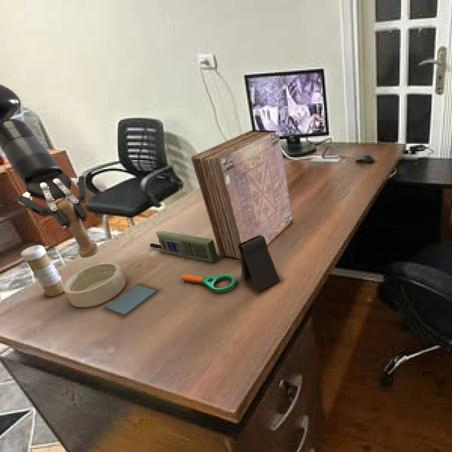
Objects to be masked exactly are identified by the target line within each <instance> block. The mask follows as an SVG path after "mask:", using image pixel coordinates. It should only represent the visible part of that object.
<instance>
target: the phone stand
mask: <svg viewBox="0 0 452 452" xmlns="http://www.w3.org/2000/svg"><path fill="white" fill-rule="evenodd" d="M260 236H261V234H260V235H258V236H256V237H253V238H251V239H249V240H247V241H245V242H243V243H240V244H238V248H239V251H240V258H241V259H240V269H241V270H240V271H241V277H242V279H243V280H245V282H247V283H248V284H249V285H250V286H251V287H252V288H253V289H254V290H256V292H257V293H261V292H262V291H265V290H267V289H268V288H270V287H272V286H273V285H275V284H277V283H279V282H280V277H279V274H278V272H277V270H276V267H275V264H274V261H273V258H272V256H271V254H270V250H269V248H268V244H267V245H266V240H265V238H264V236H261V237H260Z"/></svg>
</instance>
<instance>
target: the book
mask: <svg viewBox="0 0 452 452" xmlns="http://www.w3.org/2000/svg"><path fill="white" fill-rule="evenodd" d="M190 159H191V162H192V166H193V169H194V173H195V176H196V179H197V183H198V186H199V189H200V193H201V196H202V199H203V202H204V207H205V209H206V213H207V215H208V219H209V223H210V226H211V228H212V232H213V236H214V239H215V243H216V246H217V250H218V252H219V256H220V258H224V257H225V256H226V257H230V258H235V259H238V260H241V258H240V251H239V248H238V244H240V243H243V242H245V241H247V240H249V239H251V238H253V237H256V236H258V235H260V234H261V236H264V238H265V240H266V245H267V246H268V245H269V243H271V241H273V240H274V239H275V238H276V237H278V236H279V234H281V232H283V231H284V230H285V229H286V228H287V227H288V226H289V225H290V224H292V223H293V222H294V216H293V210H292V204H291V198H290V192H289V188H288V182H287V174H286V170H285V163H284V157H283V152H282V145H281V139H280V134H279V130H265V129H251V130H249V131H247V132H244V133H242V134H240V135H237V136H235V137H233V138H230V139H228V140H226V141H223V142H221V143H219V144H217V145H214V146H212V147H209V148H208V149H204V151H200V152H199V153H196V154H193V155H192V156H191V158H190ZM261 236H260V237H261Z"/></svg>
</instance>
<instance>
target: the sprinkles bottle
mask: <svg viewBox="0 0 452 452" xmlns="http://www.w3.org/2000/svg"><path fill="white" fill-rule="evenodd" d="M20 256H21V257H22V259H23V261H25V262H26V264H27V265H28V267H29V268H30V270H31V271H32V273H33V274H34V276H35V278H36V280H37V282H38V283H39V285H40V286H41V287H42V288H43V290H44V292H45V293H46V295H47V296H48V297H55V296H58V295H61V294H62V293H63V292H64V290H63V285H64V283H65V281H63V279H62V277H61V275H60V274H59V272H58V270H57V268H56V267H55V265H54V264H53V262H52V260H51V259H50V257H49V256H48V254H47V250H46V249H45V246H43V245H40V244H37V245H33V246H30V247H27V248H25V249H24V250H22V251H21V252H20Z"/></svg>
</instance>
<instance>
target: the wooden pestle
mask: <svg viewBox="0 0 452 452" xmlns="http://www.w3.org/2000/svg"><path fill="white" fill-rule="evenodd" d="M57 208H58V210H60V211H61V212H62V213H63V215H64V216H65V218H66V219H67V220H68V222H69V224H70V227H68V228H69V231H70V232H71V234H72V236H73V238H74V239H75V242H76V243H77V245H78V247H79V248H78V249H77V253H78V255H79V257H80V258H82V259H83V258H91V257H93V256H95V255H97V254H98V253H99V252H100V248H99V246H98V244H97V243H95V242H93V241H92V240H91V238H90V236H89V233H88V232H87V229H86V228H85V226H84V224H83V222H82V220H81V219H80V218H79V216H78V214H77V212H76V210H75V208H74V206H73V203H72V202H71V201H69V200H65V199H63V200H60V201H59V202H58V203H57Z"/></svg>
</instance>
